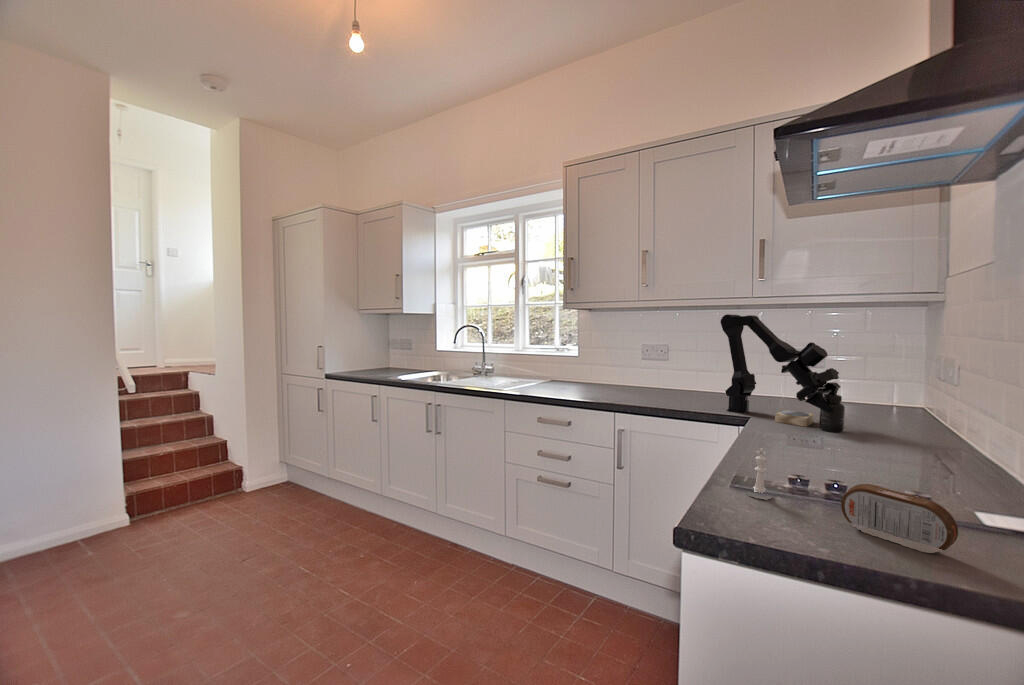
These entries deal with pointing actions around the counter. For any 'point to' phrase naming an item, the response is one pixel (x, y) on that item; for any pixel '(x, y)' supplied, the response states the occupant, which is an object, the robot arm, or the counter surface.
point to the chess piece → (760, 472)
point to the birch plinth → (794, 418)
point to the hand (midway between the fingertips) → (836, 411)
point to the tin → (900, 515)
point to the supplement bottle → (832, 414)
